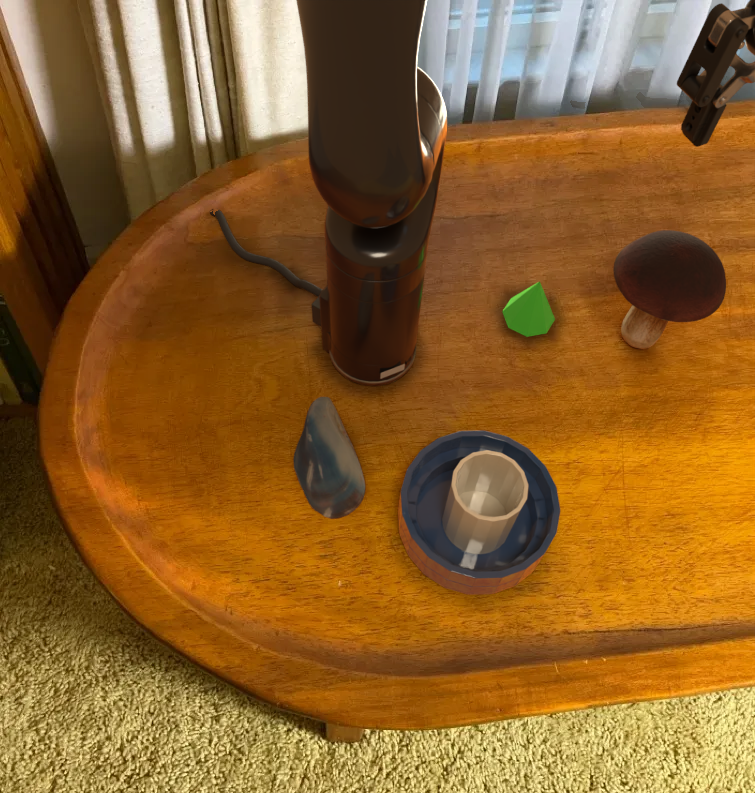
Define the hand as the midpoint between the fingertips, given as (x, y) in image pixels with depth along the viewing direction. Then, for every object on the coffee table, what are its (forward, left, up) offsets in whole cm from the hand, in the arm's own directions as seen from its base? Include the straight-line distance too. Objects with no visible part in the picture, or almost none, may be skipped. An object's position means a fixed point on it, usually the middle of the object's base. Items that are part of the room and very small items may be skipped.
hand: (737, 123), depth 58 cm
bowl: (-3, -27, -30) cm, 41 cm away
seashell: (-17, -30, -30) cm, 46 cm away
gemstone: (-10, -2, -30) cm, 32 cm away
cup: (-3, -27, -30) cm, 40 cm away
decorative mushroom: (+1, +2, -30) cm, 30 cm away
